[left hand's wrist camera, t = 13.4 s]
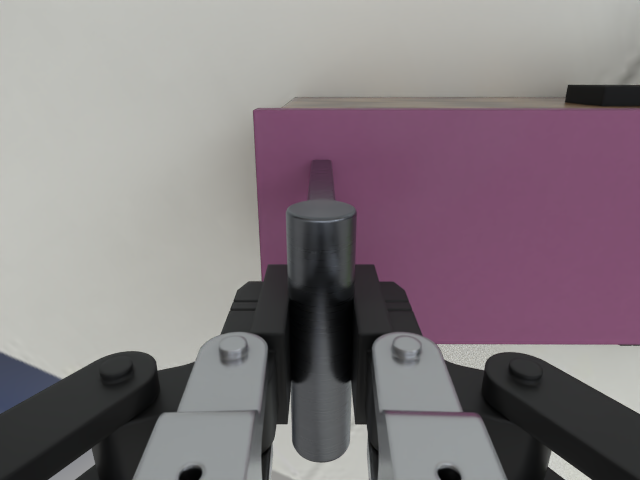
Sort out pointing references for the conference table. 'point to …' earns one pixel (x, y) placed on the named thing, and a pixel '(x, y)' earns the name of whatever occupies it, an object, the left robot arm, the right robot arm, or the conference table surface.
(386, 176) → the lid
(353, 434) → the conference table surface
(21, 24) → the conference table surface
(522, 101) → the chest
